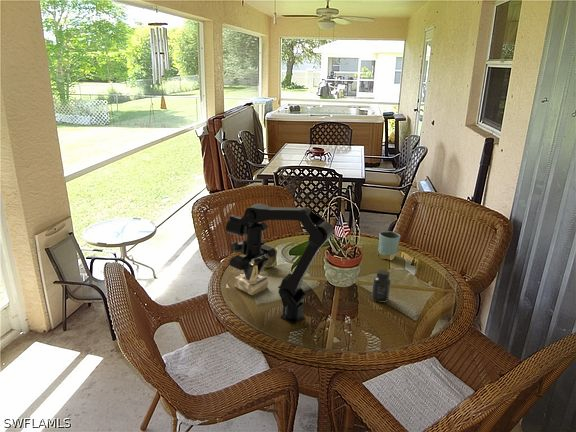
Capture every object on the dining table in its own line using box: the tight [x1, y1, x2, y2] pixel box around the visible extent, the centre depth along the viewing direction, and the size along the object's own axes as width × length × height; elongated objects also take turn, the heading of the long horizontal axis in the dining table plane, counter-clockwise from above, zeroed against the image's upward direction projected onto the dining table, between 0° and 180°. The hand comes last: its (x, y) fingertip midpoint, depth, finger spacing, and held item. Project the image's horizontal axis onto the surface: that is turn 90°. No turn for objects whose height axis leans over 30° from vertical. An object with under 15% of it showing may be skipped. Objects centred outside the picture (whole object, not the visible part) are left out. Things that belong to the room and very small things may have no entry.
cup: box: [263, 248, 278, 269], centre depth 188 cm, size 8×7×8 cm
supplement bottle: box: [371, 269, 392, 302], centre depth 167 cm, size 7×7×12 cm
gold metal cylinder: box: [246, 261, 259, 284], centre depth 154 cm, size 4×4×7 cm
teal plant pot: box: [377, 230, 401, 255], centre depth 208 cm, size 10×10×12 cm
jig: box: [234, 273, 269, 296], centre depth 170 cm, size 10×9×5 cm
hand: (252, 277), depth 155 cm, fingers closed on gold metal cylinder, 4 cm apart
